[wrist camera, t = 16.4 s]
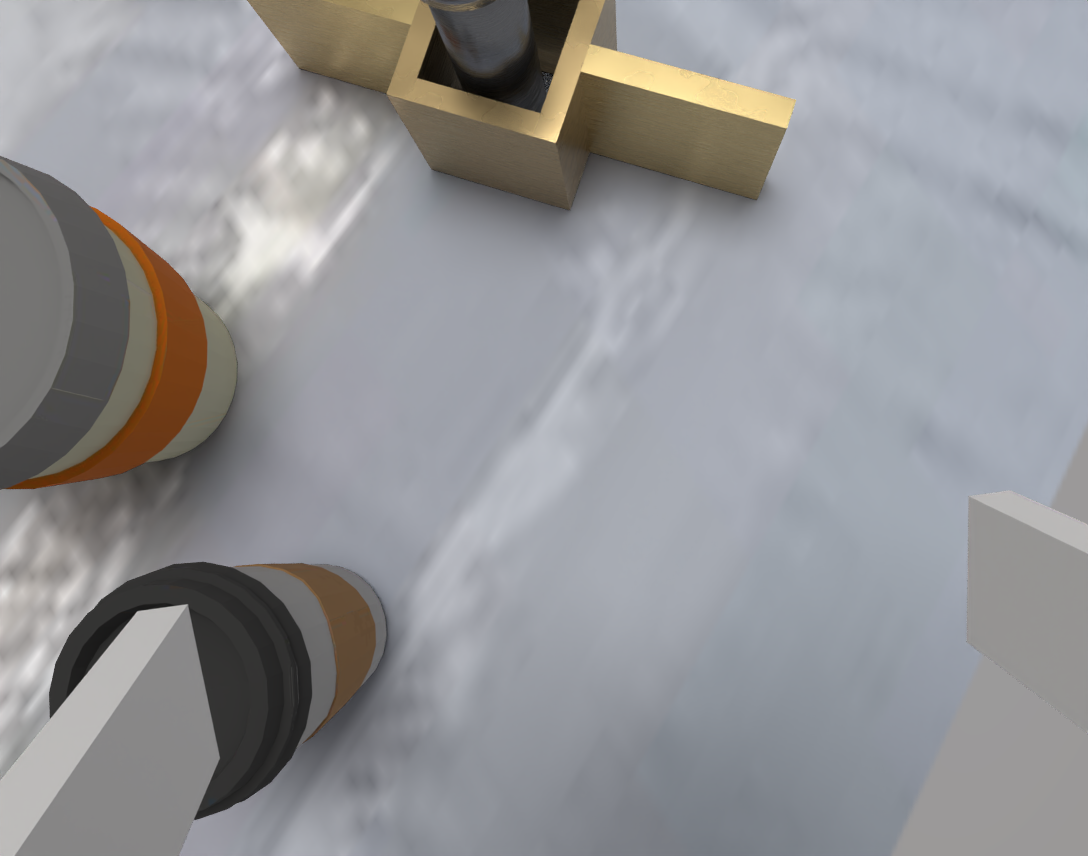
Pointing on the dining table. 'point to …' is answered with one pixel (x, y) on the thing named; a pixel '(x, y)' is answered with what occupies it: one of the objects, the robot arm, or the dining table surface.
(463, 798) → the dining table surface
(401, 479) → the dining table surface
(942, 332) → the dining table surface
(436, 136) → the tan plate
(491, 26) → the hinge pin
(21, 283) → the reusable coffee cup
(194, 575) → the coffee cup
